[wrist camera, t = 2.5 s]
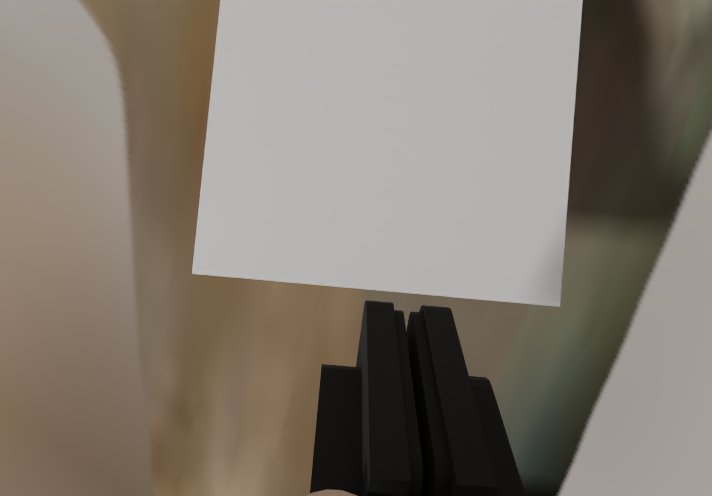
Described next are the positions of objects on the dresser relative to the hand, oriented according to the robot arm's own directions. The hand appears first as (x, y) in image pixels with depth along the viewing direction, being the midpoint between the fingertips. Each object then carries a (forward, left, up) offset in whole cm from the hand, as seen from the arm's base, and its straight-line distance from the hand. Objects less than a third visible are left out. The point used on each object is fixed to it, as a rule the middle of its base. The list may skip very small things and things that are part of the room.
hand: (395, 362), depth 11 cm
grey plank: (+3, +3, -11) cm, 12 cm away
